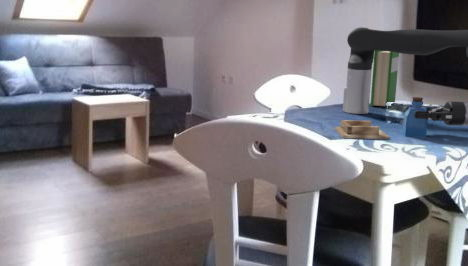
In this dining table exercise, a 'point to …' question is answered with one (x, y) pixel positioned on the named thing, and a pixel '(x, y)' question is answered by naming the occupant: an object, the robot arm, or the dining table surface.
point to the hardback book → (384, 77)
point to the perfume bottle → (415, 120)
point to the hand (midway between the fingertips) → (410, 112)
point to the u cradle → (360, 130)
